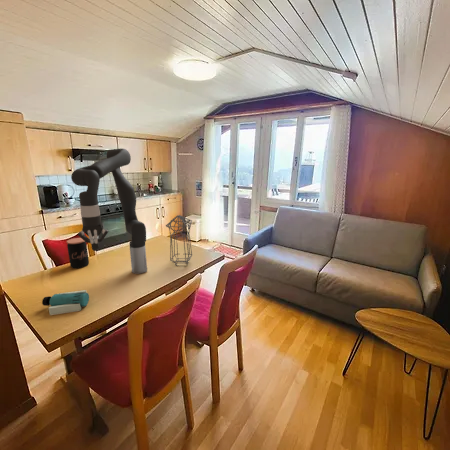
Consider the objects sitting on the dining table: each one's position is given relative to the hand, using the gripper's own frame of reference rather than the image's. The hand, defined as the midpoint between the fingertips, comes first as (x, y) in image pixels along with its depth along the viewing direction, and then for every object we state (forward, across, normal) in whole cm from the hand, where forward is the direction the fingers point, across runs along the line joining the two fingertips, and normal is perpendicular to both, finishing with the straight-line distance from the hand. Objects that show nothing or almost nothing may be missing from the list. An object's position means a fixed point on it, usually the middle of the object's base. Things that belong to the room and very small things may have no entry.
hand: (95, 250), depth 108 cm
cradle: (+27, +14, 0) cm, 30 cm away
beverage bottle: (+23, +5, +3) cm, 24 cm away
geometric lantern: (+28, -44, -34) cm, 62 cm away
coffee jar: (+27, +21, -49) cm, 60 cm away
